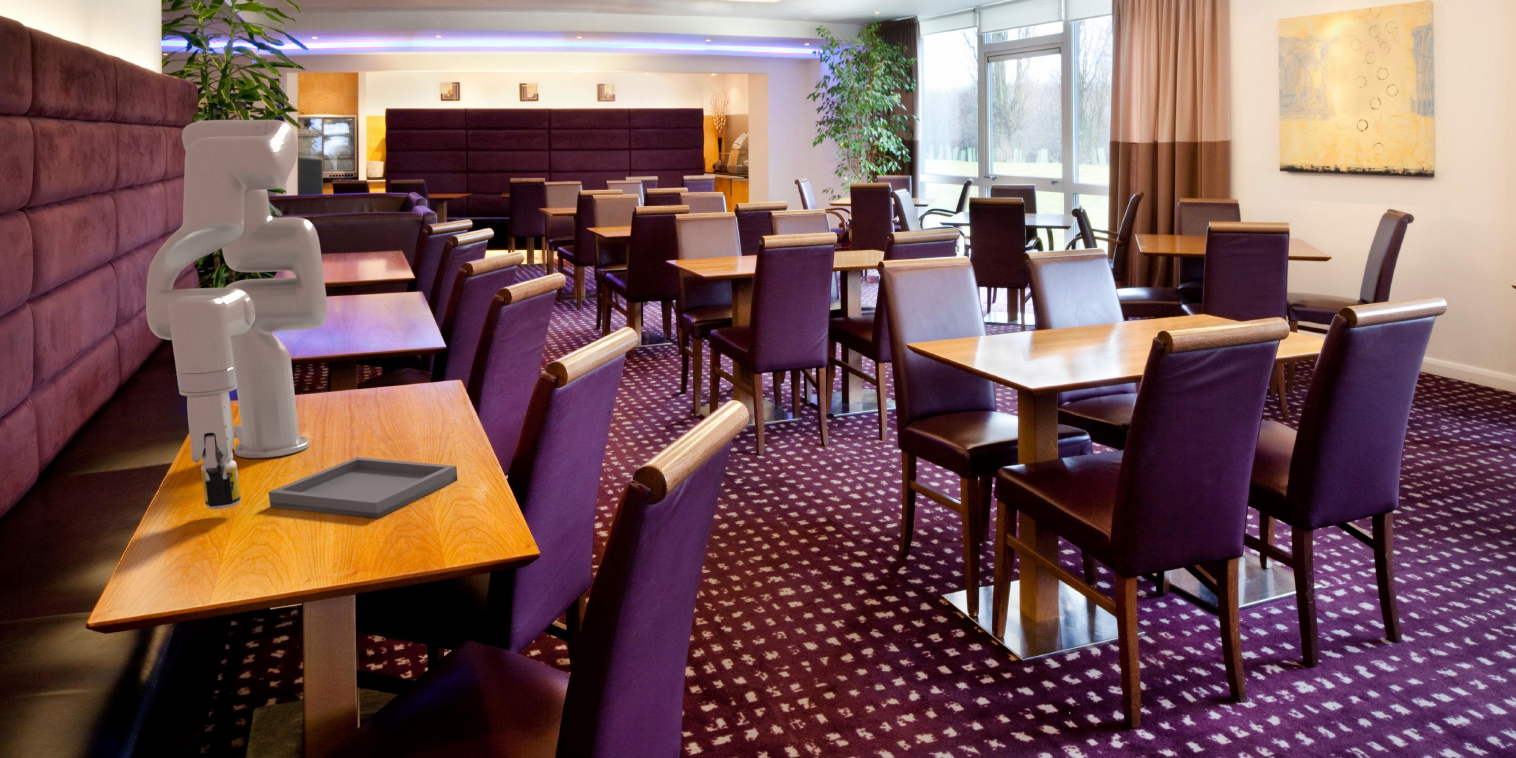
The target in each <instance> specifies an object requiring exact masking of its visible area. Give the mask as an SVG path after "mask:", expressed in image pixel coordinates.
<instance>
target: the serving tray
mask: <svg viewBox="0 0 1516 758" xmlns="http://www.w3.org/2000/svg"><path fill="white" fill-rule="evenodd" d="M457 470H458V469H457V465H449V464H439V463H428V462H427V463H426V462H417V461H405V460H404V461H403V460H392V459H380V458H369V457H358V456H356V457H354V458H351V459H348V460H347V461H343V462H342V463H338V464H336V465H334V466H330V467H328V468H326V469H323V470H320V471H318V472H315V473H313V474H310V475H308V476H305V477H302V478H301V479H300V478H299V479H298V480H294V481H293V482H290V483H288V484H284V485H282V486H279V487H277V488H274V489H272V490H270V491H268V498H269V499H268V500H269V506H270V507H271V508H278V509H289V510H298V511H304V512H305V511H306V512H315V513H325V514H334V515H341V516H343V515H345V516H352V517H362V518H371V519H380V518H382V517H384V516H386V515H388V514H391V513H392V512H394V511H396V510H398V509H400V508H403V507H404V506H406V505H408V504H411V503H413V502H415V501H417V500H420V499H421V498H423V497H426V496H427V495H429V494H431V493H433V492H436V491H438V490H439V489H441V488H444V487H446V486H448V485H450V484H452V483H455V482H456V481H458V471H457Z"/></svg>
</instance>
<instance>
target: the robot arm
mask: <svg viewBox="0 0 1516 758" xmlns="http://www.w3.org/2000/svg"><path fill="white" fill-rule="evenodd" d="M181 133H182V134H181V140H182V145H183V148H184V151H185V153H184V154H185V156H184V175H183V176H184V178H183V205H182V211H183V212H182V224H181V226H180V227H179V228H178V229H177V230H176V231H175V232H174V233H173V234H172V235H171V236H170V237H169V238H167V240H166V241H165V242H164V243H163V244H162V245H161V247H160V248H159V249H158V251H157V253H155V255H154V257H153V259H152V261H151V263H150V264H149V269H148V273H147V279H146V296H145V297H146V299H145V301H146V302H145V303H146V304H145V310H146V320H147V321H146V322H147V324H148V327H149V329H150V331H151V332H152V334H154V336H156V337H158V338H159V339H162V340H163V339H164V340H167V341H171V343H172V348H173V350H172V351H173V356H174V363H175V370H176V377H177V386H178V391H179V395H181V396H184V397H187V399H186V401H187V402H186V405H187V407H186V408H187V423H188V432H189V441H190V451H191V460H192V461H193V463H195V464H197V463H199V461H202V459H203V458H202V456H203V454H204V462H203V464H204V465H205V475H206V481H205V482H206V490H207V497H208V504H209V506H210V507H213V506H222V505H230V504H232V503H233V497H232V489H231V481H230V477H229V478H228V476H227V465H226V459H227V458H228V457H229V456H230V454H231V452H232V453H233V449H234V454H235V455H236V457H240V458H246V459H265V458H266V459H267V458H268V459H269V458H274V457H282V456H287V455H291V454H294V453H295V454H296V453H298V452H302V451H304V450H305V449H307V448H308V447H309V446H310V439H309V438H308V437H306V436H303V435H300V434H299V433H300V429H299V422H298V411H297V405H296V395H295V385H294V377H293V375H294V374H293V366H292V358H291V354H290V351H289V350H288V348H287V347H286V345H285V344H284V343H283V342H282V341H281V340H280V339H279V338H278V337H277V336H276V335H275V334H274V332H282V331H283V332H287V331H301V330H302V331H303V330H314V329H318V328H320V327H322V326H323V325H324V324H325V322H326V321H327V318H328V299H327V290H326V284H325V274H324V267H323V259H322V251H321V250H322V249H321V244H320V237H319V235H318V232H317V229H316V227H315V226H314V224H313V223H312V222H311V221H310V220H308V219H306V218H304V217H298V216H291V217H290V216H287V217H273V215H272V214H271V213H272V212H271V209H270V202H269V200H270V199H269V193H268V190H277V189H281V188H282V187H284V186H285V184H286V183H287V182H288V179H289V177H290V175H291V172H292V171H293V168H294V167H295V164H296V161H297V156H298V142H297V137H296V135H295V132H294V130H293V129H292V127H291V126H290V125H289V124H288V123H286V122H285V121H284V120H279V119H213V120H211V119H210V120H209V119H208V120H200V121H195V122H192V123H189V124H187V125H185V127H184V128H183V129H182V132H181ZM218 250H222V255H223V259H224V262H225V264H226V266H228V267H229V269H231V270H233V271H235V272H240V273H264V272H265V273H266V272H267V273H268V272H269V273H270V272H271V273H273V272H291V273H293V274H294V276H295V277H284V278H283V277H282V278H281V277H279V278H274V277H273V278H272V277H271V278H250V279H242V280H237V281H234V282H231V283H229V284H227V285H226V286H225V287H203V288H201V287H197V288H180V289H174V283H175V281H176V279H177V278H178V276H179V274H181V272H182V271H184V269H185V268H186V267H188V266H189V265H190V264H192V263H194V262H196V261H197V260H200V259H201V258H203V257H205V256H208V255H210V254H212V253H214V252H216V251H218ZM234 390H236V394H237V402H238V410H239V419H240V424H236V425H234V420H233V414H232V413H233V412H232V405H231V404H232V403H231V398H230V392H233V391H234ZM236 438H238V443H239V444H236V446H235V447H234V444H235V439H236ZM218 454H222V458H218V459H217V455H218ZM220 462H221V464H222V467H221V466H220V465H218V463H220ZM221 468H222V469H221Z"/></svg>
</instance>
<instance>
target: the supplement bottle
mask: <svg viewBox="0 0 1516 758" xmlns="http://www.w3.org/2000/svg"><path fill="white" fill-rule="evenodd" d="M218 458H222V454H218V455H217V459H218ZM233 458H234V454H233V451H232V452H231V454H230V456H229V457H228V458H227V459H226V465H227V476H228V478H229V477H230V481H231V489H232V497H233V503H232V504H230V505H222V506H213V507H210V506H209V504H208V497H207V490H206V482H205V481H206V475H205V465H204V454H203V456H202V458H201V459H202V462H203V464H202V465H201V467H200V471H201V473H200V474H201V480H202V481H201V482H202V487H203V488H202V489H203V494H204V495H203V496H204V504H205V507H206V508H208V509H210V510H222V509H228V508H233V507H236V506H237V505H239V504H240V503H241V501H242V498H241V490H240V480H239V473H238V466H237V465H238V464H237V462H236V461H235V460H234V459H233ZM218 465H220V466H221V467H222V464H221V462H220V463H218ZM221 469H222V468H221Z"/></svg>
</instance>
